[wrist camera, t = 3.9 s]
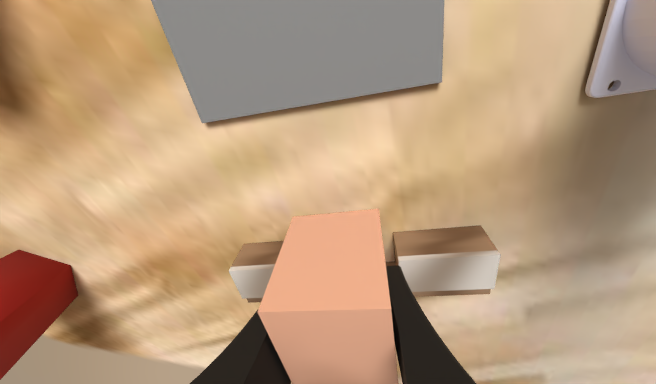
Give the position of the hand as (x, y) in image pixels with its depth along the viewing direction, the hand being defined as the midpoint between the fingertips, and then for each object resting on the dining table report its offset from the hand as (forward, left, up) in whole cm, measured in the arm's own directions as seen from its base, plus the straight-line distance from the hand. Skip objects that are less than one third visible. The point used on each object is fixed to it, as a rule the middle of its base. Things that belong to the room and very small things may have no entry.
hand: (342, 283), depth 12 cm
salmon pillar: (0, +1, -2) cm, 2 cm away
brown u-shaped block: (0, +4, -7) cm, 8 cm away
